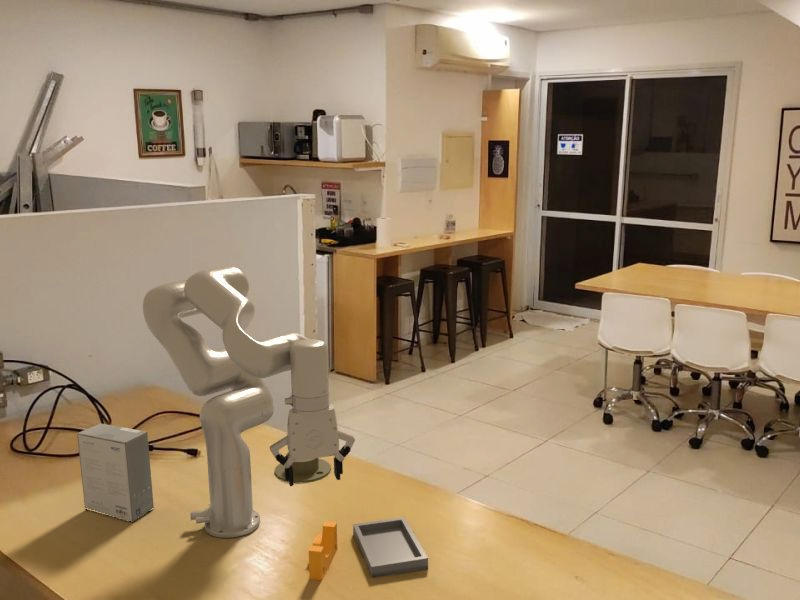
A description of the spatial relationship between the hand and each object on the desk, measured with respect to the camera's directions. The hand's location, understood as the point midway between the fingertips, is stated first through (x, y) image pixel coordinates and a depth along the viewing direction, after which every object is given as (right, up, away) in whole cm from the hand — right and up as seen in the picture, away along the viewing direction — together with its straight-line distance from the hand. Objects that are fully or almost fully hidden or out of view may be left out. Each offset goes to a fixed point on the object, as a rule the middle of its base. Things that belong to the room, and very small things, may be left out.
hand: (314, 480), depth 154 cm
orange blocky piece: (+1, -19, +4) cm, 19 cm away
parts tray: (+15, -17, +8) cm, 24 cm away
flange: (-9, -10, +49) cm, 50 cm away
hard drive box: (-50, -14, +27) cm, 59 cm away
